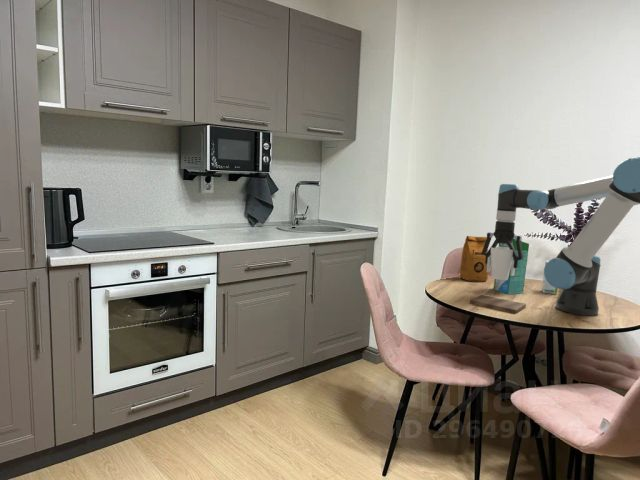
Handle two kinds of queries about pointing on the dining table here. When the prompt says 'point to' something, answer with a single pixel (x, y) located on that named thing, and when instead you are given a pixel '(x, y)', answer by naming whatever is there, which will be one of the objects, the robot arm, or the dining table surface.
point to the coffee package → (473, 260)
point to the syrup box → (548, 286)
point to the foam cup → (501, 262)
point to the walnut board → (498, 304)
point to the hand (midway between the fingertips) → (500, 273)
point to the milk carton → (517, 281)
